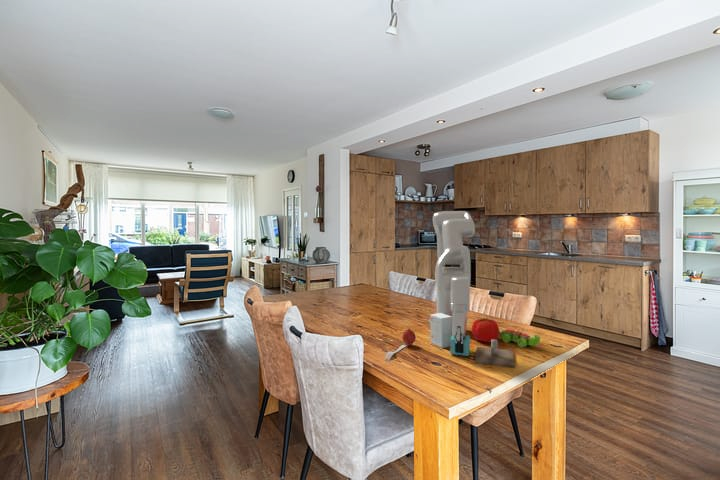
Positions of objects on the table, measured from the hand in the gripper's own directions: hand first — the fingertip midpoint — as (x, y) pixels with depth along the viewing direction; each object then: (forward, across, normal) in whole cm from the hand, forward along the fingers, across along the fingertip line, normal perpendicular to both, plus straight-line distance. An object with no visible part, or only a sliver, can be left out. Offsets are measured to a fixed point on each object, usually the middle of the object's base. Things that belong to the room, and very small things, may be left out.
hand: (460, 349), depth 142 cm
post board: (+2, 0, +13) cm, 13 cm away
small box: (+2, -8, -9) cm, 13 cm away
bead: (+1, 0, 0) cm, 1 cm away
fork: (+2, +8, -25) cm, 26 cm away
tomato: (+2, -20, +9) cm, 22 cm away
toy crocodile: (+2, -21, +22) cm, 31 cm away
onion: (+2, -2, -22) cm, 22 cm away
